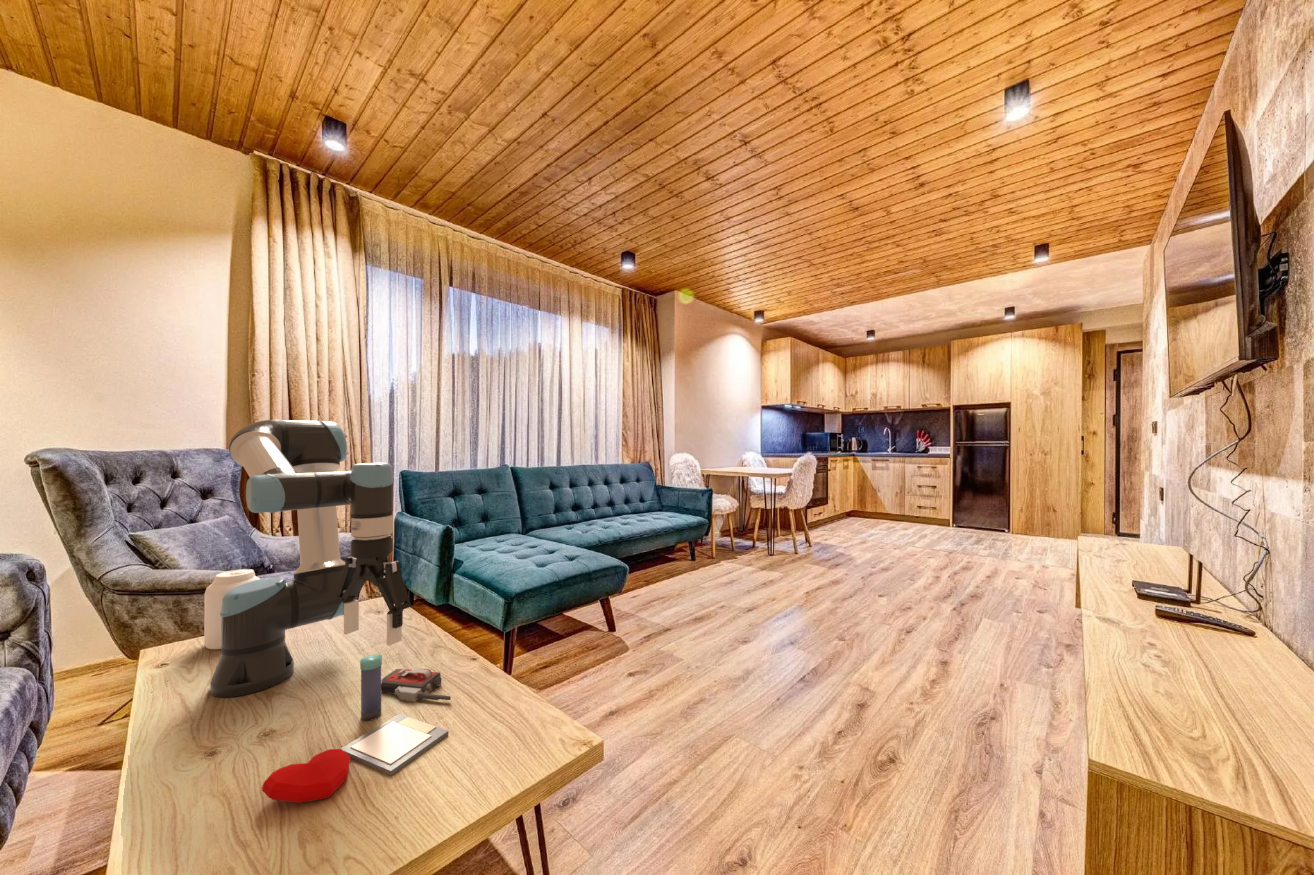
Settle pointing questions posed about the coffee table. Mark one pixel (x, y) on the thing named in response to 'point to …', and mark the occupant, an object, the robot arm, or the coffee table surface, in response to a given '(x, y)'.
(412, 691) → the walkie-talkie
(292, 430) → the robot arm
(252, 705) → the coffee table surface
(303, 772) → the heart
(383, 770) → the clipboard
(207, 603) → the white jar
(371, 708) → the marker
